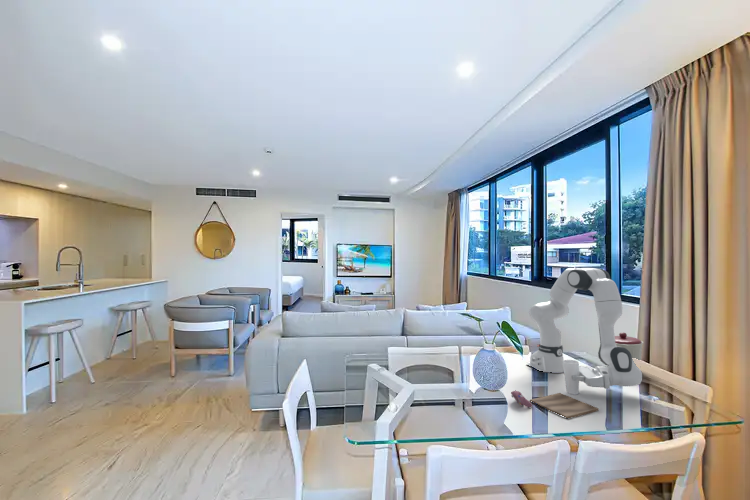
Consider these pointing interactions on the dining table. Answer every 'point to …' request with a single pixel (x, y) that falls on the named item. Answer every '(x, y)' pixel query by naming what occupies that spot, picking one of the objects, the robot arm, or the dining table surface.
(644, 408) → the dining table surface
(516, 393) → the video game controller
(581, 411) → the walnut board
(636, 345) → the canister
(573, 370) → the drinking glass
